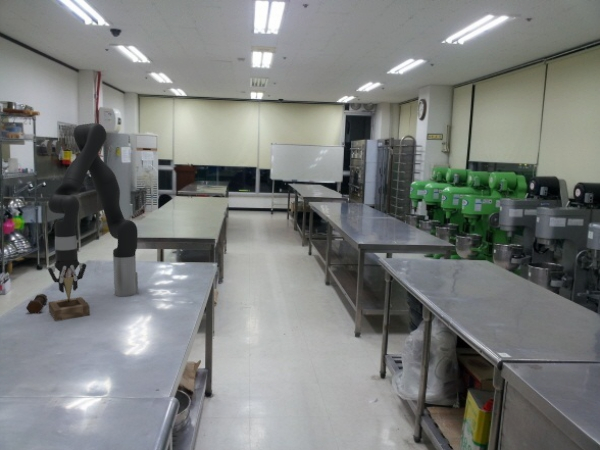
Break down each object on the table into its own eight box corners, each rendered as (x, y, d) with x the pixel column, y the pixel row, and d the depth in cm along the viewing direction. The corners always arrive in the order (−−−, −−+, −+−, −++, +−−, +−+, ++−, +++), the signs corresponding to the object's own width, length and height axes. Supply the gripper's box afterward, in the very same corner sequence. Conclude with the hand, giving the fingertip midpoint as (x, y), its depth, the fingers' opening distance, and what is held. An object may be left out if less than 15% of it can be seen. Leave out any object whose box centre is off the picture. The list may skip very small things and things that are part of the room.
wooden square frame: (81, 306, 192) (81, 297, 192) (89, 315, 183) (89, 305, 182) (49, 311, 185) (48, 301, 185) (55, 321, 176) (54, 310, 175)
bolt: (45, 305, 198) (37, 317, 183) (33, 300, 196) (23, 311, 182) (52, 293, 198) (44, 303, 184) (40, 288, 196) (31, 298, 182)
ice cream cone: (64, 300, 186) (62, 262, 184) (79, 300, 187) (78, 263, 184) (58, 304, 180) (56, 266, 178) (73, 305, 181) (72, 266, 179)
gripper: (83, 243, 187) (85, 285, 190) (43, 247, 179) (46, 291, 181) (88, 247, 181) (90, 290, 184) (47, 251, 173) (49, 296, 176)
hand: (68, 290), depth 183 cm, fingers closed on ice cream cone, 3 cm apart
